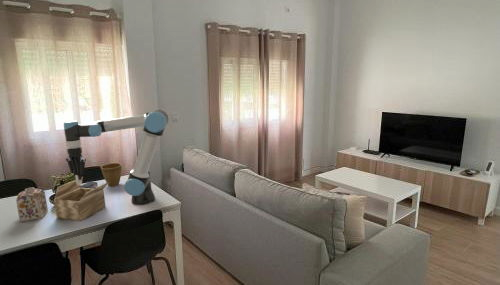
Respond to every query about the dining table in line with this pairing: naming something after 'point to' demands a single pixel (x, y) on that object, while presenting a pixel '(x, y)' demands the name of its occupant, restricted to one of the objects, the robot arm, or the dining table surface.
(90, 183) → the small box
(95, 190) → the near flap
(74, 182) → the far flap
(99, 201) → the carton
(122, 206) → the dining table surface
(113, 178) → the plant pot
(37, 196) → the decorative jar
